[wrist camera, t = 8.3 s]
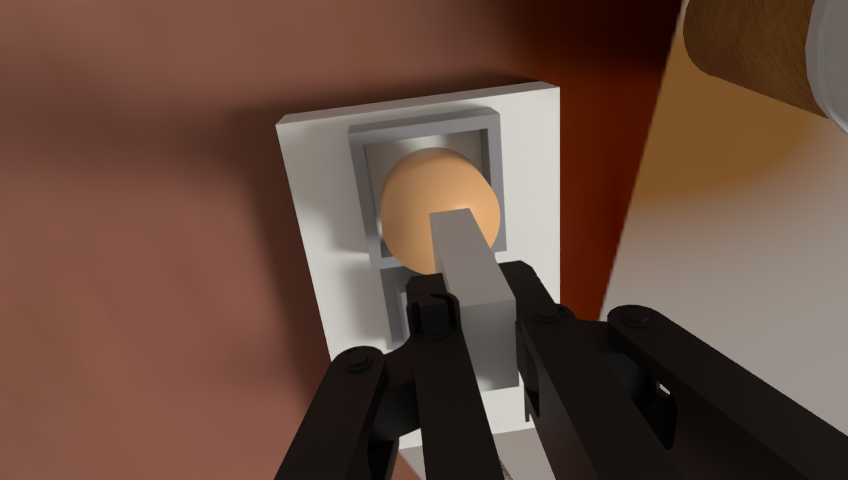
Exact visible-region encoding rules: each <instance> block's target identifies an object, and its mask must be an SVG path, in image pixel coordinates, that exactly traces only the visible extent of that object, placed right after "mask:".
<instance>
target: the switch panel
mask: <svg viewBox="0 0 848 480" xmlns="http://www.w3.org/2000/svg"><path fill="white" fill-rule="evenodd" d="M275 126H276V130H277V134H278V138H279V142H280V147H281V151H282V155H283V159H284V164H285V168H286V172H287V176H288V180H289V185H290V189H291V193H292V197H293V201H294V206H295V210H296V214H297V218H298V223H299V227H300V231H301V235H302V239H303V244H304V248H305V252H306V256H307V261H308V265H309V269H310V273H311V277H312V282H313V286H314V290H315V294H316V298H317V303H318V307H319V311H320V315H321V320H322V324H323V328H324V332H325V336H326V341H327V345H328V349H329V353H330V358H331V362H332V361H333V359H334V358H335V357H336V356H337V355H338V354H340V353H341V352H343V351H344V350H347V349H349V348H352V347H356V346H364V345H365V346H373V347H376V348H378V349H380V350H381V351H382V353H383V354H386V353H389V352H391V351H393V350H395V349H398V348H399V347H400V346H402V345H403V344H404V337H403V331H402V324H401V318H400V312H399V306H398V299H397V293H396V287H395V283H396V282H400V281H404V280H408V279H410V278H411V277H414V276H421V275H425V274H422V273H418V272H416V271H413V270H411V269H409V268H407V267H406V266H404V265H403V264H402V263H400V262H399V261H398V260H397V259H396V258H395V257H394V256H393V254H392V253H391V252H390V250H389V249H388V247H387V245H386V243H385V240H384V237H383V233H382V224H381V190H382V186H383V183H384V180H385V178H386V176H387V174H388V173H389V171H390V170H391V168H392V167H393V166H394V165H395V164H396V163H397V162H398V161H399V160H400V159H401V158H403V157H404V156H406V155H407V154H410V153H412V152H414V151H416V150H419V149H423V148H430V147H441V148H447V149H451V150H454V151H456V152H458V153H460V154H462V155H464V156H465V157H466V158H468V159H469V160H470V161H471V162H472V163H473V164H474V165H475V166H476V168H477V169H478V170H479V172H480V173H481V174H482V176H483V177H484V179H485V180H486V181H487V183H488V184H489V185H490V187H491V188H492V190H493V192H494V193H495V195H496V198H497V200H498V204H499V208H500V226H499V231H498V234H497V237H496V239H495V241H494V243H493V245H492V247H491V248H490V250H491V252H492V254H493V255H494V257H495V259H496V261H497V263H503V262H510V261H517V260H521V261H523V262H525V263H527V264H528V265H530V266H532V268H533V269H534V271H535V272H536V274H537V276H538V277H539V278H540V280H541V282H542V283H543V285H544V286H545V288H546V289H547V291H548V292H549V294H550V296H551V297H552V299H553V300H554V302H555V303H558V304H560V87H557V86H554V85H551V84H548V83H545V82H542V81H537V82H530V83H522V84H515V85H507V86H499V87H492V88H484V89H477V90H469V91H461V92H454V93H446V94H439V95H431V96H424V97H416V98H408V99H401V100H393V101H386V102H378V103H370V104H363V105H355V106H348V107H340V108H332V109H325V110H317V111H310V112H302V113H294V114H287V115H285V116H284V117H283V118H282V119H281V120H280V121H279V122H278V123H277V124H276V125H275ZM480 394H481V397H482V401H483V404H484V408H485V411H486V415H487V418H488V422H489V425H490V429H491V432H492V434H497V433H503V432H510V431H515V430H522V429H528V428H534V427H535V425H534V423H533V420H532V417H531V415H529V416H530V422H525V409H524V383H523V380H522V378H521V375H520V373H519V386H518V387H512V388H505V389H499V390H492V391H485V392H480ZM416 446H422V438H421V429H418V430H415V431H413V432H411V433H409V434H406V435H404V436H402V437H400V438H399V449H403V448H410V447H416Z"/></svg>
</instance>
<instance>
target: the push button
mask: <svg viewBox="0 0 848 480" xmlns="http://www.w3.org/2000/svg"><path fill="white" fill-rule="evenodd" d="M464 208H470V210H471V212H472V214H473V216H474V218H475V220H476V222H477V224H478V226H479V228H480V230H481V232H482V234H483V236H484V238H485V240H486V242H487V244H488V246H489V248H491V247H492V245H493V243H494V241H495V239H496V237H497V234H498V231H499V226H500V208H499V204H498V200H497V198H496V195H495V193H494V192H493V190H492V188H491V187H490V185H489V184H488V183H487V181H486V180H485V179H484V177H483V176H482V174H481V173H480V172H479V170H478V169H477V168H476V166H475V165H474V164H473V163H472V162H471V161H470V160H469V159H468V158H466V157H465V156H464V155H462V154H460V153H458V152H456V151H454V150H451V149H447V148H441V147H430V148H423V149H419V150H416V151H414V152H412V153H410V154H407V155H406V156H404V157H403V158H401V159H400V160H399V161H398V162H397V163H396V164H395V165H394V166H393V167H392V168H391V170H390V171H389V173H388V174H387V176H386V178H385V180H384V183H383V186H382V190H381V224H382V233H383V237H384V240H385V243H386V245H387V247H388V249H389V250H390V252H391V253H392V254H393V256H394V257H395V258H396V259H397V260H398V261H399V262H400V263H402V264H403V265H404V266H406V267H407V268H409V269H411V270H413V271H416V272H418V273H422V274H425V275H428V274H435V273H436V269H435V261H434V252H433V244H432V235H431V227H430V218H429V213H435V212H442V211H449V210H456V209H464Z"/></svg>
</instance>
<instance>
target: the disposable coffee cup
mask: <svg viewBox="0 0 848 480" xmlns="http://www.w3.org/2000/svg"><path fill="white" fill-rule="evenodd" d="M683 36H684V42H685V47H686V49H687V52H688V55H689V57H690V58H691V60H692V61H693V63H694V64H695V65H696V66H697V67H698V68H699V69H700V70H702V71H703V72H705V73H707V74H709V75H711V76H715V77H718V78H720V79H723V80H726V81H728V82H731V83H734V84H736V85H739V86H742V87H744V88H747V89H750V90H752V91H755V92H757V93H760V94H763V95H766V96H769V97H771V98H774V99H777V100H779V101H781V102H785V103H787V104H790V105H792V106H795V107H798V108H800V109H803V110H806V111H809V112H811V113H814V114H817V115H819V116H822V117H825V118H827V119H830V120H831V121H833V122H834V123H835V124H836V125H837V126H838V127H839V128H840V130H841V131H842V132H844V133H846V134H848V0H690V1H689V3H688V6H687V8H686V14H685V19H684V27H683Z"/></svg>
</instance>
